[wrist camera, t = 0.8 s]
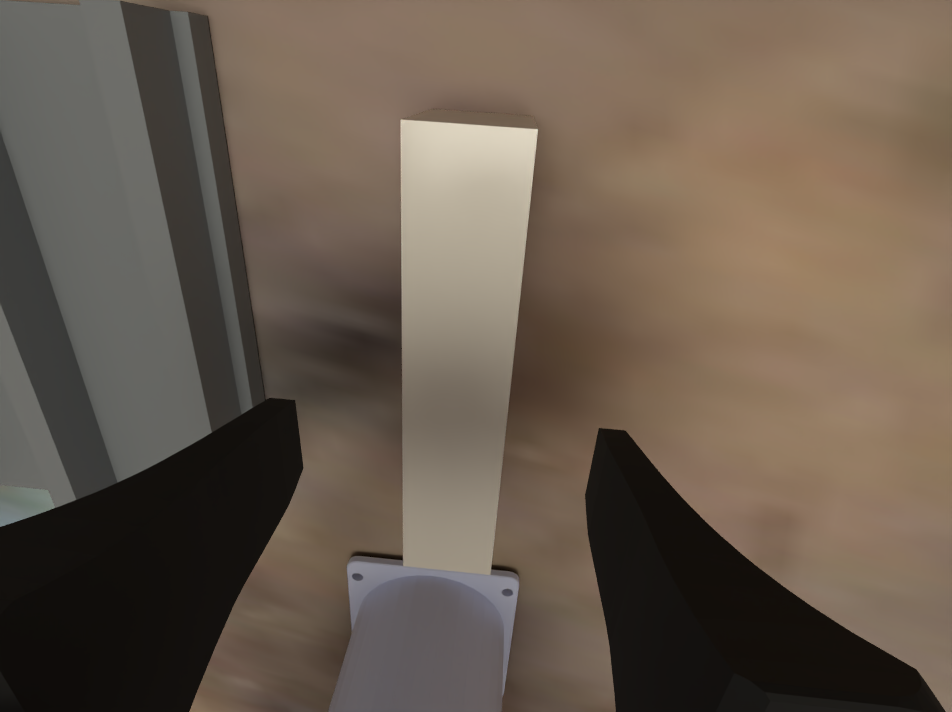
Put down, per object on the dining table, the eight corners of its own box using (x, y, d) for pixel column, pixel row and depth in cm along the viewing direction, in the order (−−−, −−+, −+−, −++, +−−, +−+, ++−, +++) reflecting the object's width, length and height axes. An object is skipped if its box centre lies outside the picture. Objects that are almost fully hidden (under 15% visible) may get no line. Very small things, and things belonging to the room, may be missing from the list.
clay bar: (496, 477, 22) (490, 574, 18) (426, 470, 22) (403, 566, 18) (533, 115, 16) (538, 129, 11) (433, 108, 16) (400, 119, 12)
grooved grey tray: (279, 495, 23) (248, 548, 21) (-24, 465, 24) (-91, 513, 21) (207, 15, 15) (140, 2, 12) (-256, -14, 16) (-415, -33, 13)
